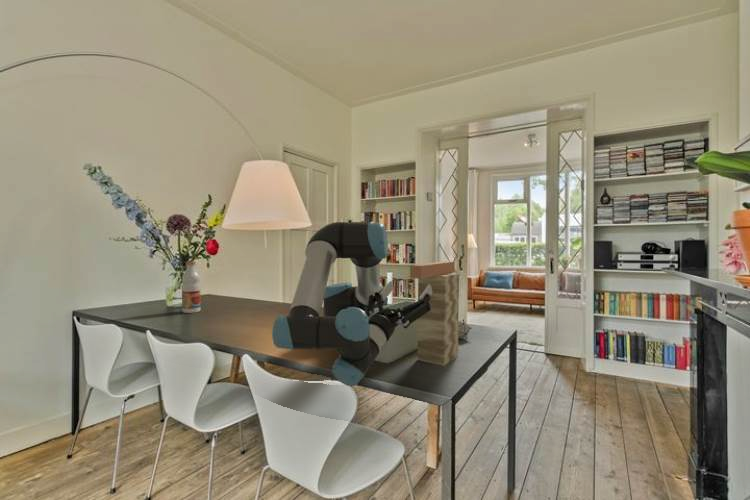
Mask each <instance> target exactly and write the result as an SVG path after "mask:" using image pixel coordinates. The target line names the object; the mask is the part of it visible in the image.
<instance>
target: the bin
mask: <svg viewBox="0 0 750 500" xmlns="http://www.w3.org/2000/svg"><path fill="white" fill-rule="evenodd" d="M415 302H416V301H412V300H411V301H410V300H402V301H398V302H394V303H390V304H387V305H386V306H383V309H386V308H389V309H398V308H404V307H406V306H408V305H410V304H413V303H415ZM364 312H366V311H364ZM377 312H379V309H378V308H375V309H374V314H375V313H377ZM374 314H373V315H374ZM398 314H399V317H401V315H400V312H399V313H398ZM416 350H418V319H417V320H415V321H414V322H412V323H411V324H410V325H409V326H408V328H404V327H403V325H398V326H396V327H395V329H394V332H393V334H392V336H391V337H390V338H389V340H388V341H387V342H386V344H385V345H384V347H383V348H382V350H381V351H380V353H379V354H378V355H377V357H376V358H375V360H374V361H375V362H379V363H382V364H386V365H387V364H391V363H393V362H394V361H396V360H399V359H401V358H403V357H404V356H406V355H408V354H410V353H412V352H415V351H416ZM374 361H373V362H374Z"/></svg>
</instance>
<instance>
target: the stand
mask: <svg viewBox="0 0 750 500" xmlns="http://www.w3.org/2000/svg"><path fill="white" fill-rule="evenodd" d="M417 279H418V278H417ZM417 283H418V284H417V286H418V288H417V290H418V291H417V295H418V296H417V301H419V298H420V296H421V295H422V293H423V292H424V290H425V289H426V287H427V286H428V285H431V288H432V292H433V293H432V294H431V296H430V300H429V304H430V307H431V310H430V311H429V312H427V313H426V314H424V315H423V316H421V317H420V318H418V349H417V352H416V353H417V356H416V357H417V360H418V361H421V362H426V363H429V364H434V365H438V366H443V367H444V366H446V365H448V364H449V363H450V362H451V361H453V360H455V359H456V358H457V357H458V356H459V338H458V321H459V307H460V306H459V300H460V298H459V297H460V295H459V293H460V273H456V272H455V273H449V274H444V275H439V276H433V277H428V278H423V279H418V280H417Z"/></svg>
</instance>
